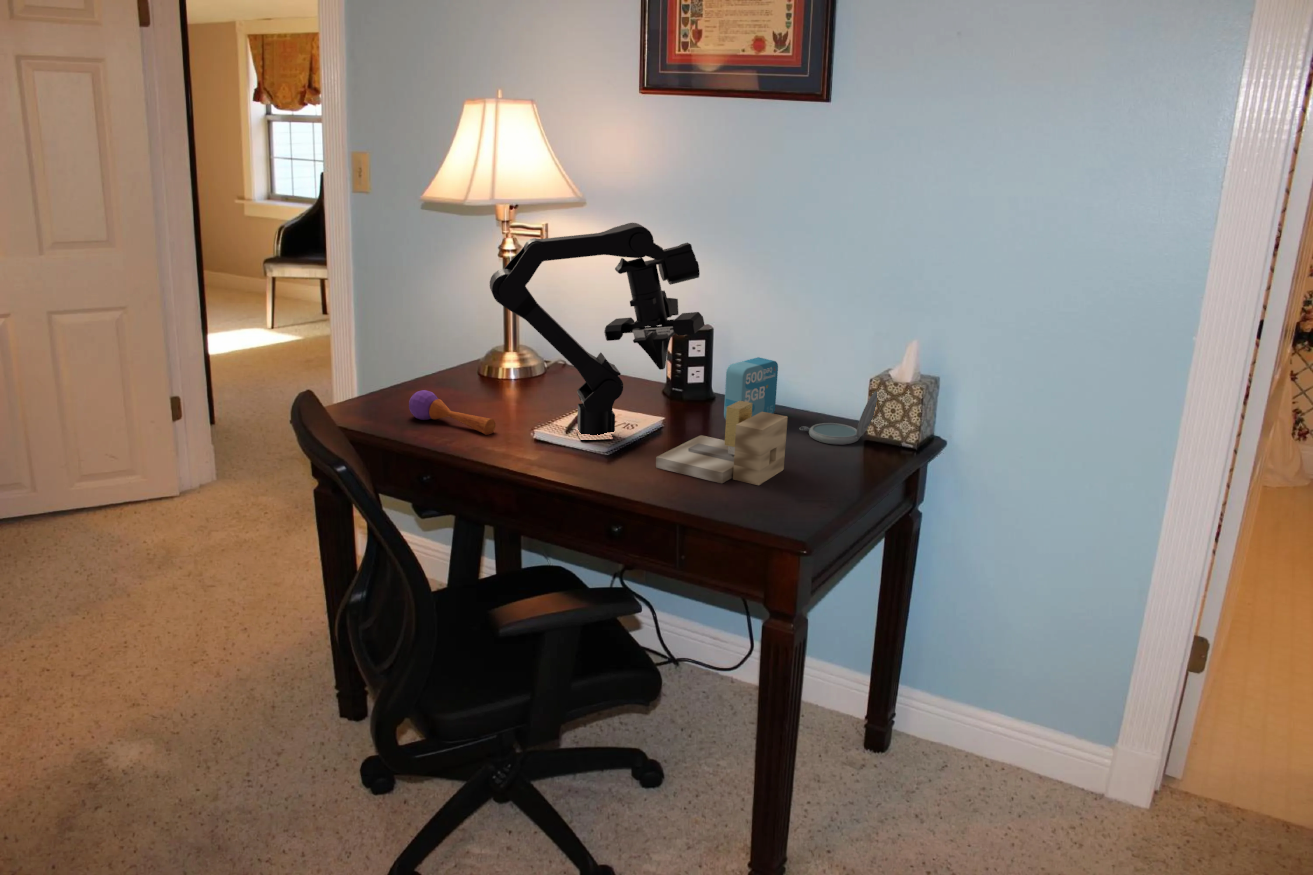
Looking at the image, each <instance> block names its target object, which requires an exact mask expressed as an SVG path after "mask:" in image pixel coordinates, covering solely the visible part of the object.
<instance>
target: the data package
mask: <svg viewBox="0 0 1313 875" xmlns="http://www.w3.org/2000/svg"><path fill="white" fill-rule="evenodd" d="M778 372H779V364H778V362H777V361H776V360H773V359H769V358H768V359H767V358H763V357H760V356H757V357H754V358H749V359H746V360H742V361H737V362H735V363H730V365H728V367H727V369H726V372H725V388H724V389H725V392H724V408H723V417H724V419H725V420H726V410H727V406H730V405H732V404H734V403H736V402H738V401H744V402H749V403H752V416H754V415H756V414H758V413H760V412H767V413H772V414H775V411H776V403H777V402H776V401H777V388H778V375H779V374H778Z"/></svg>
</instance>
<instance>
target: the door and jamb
mask: <svg viewBox="0 0 1313 875" xmlns="http://www.w3.org/2000/svg"><path fill="white" fill-rule="evenodd" d="M788 418H789V417H788V416H787V415H782V414H776V413H773V414H772V413H767V412H760V413H758V414H756V415H754V416H752V417H750V418H748V419H746V420H744V421H742V422H740V423H739V424H737V425H736V436H735V453H734V455H733V454H728V446H727V445H725V439H721V438H720V439H719V438H716V437H710V436H706V435H702V434H700V435H698V436H696V437H694V438H692V439H690V440H688V441H686V442H683V443H682V444H680V445H678V446H676V447H673V448H671V449H670V450H667V451H666V452H664V453H662V454H660V455H657V456H656V457H655V468H656V469H661V470H664V471H669V472H673V473H677V474H681V475H685V476H690V477H694V478H698V479H702V480H706V481H709V482H713V483H714V482H715V483H718V484H723V483H725V482H727V481H729V480H731V479H732V480H735V481H738V482H742V483H747V484H750V485H751V484H752V485H755V486H760V485H762V484H763V483H765V482H766V481H768V480H770V479H771V478H773V477H775V476H776V475H777V474H779V473H781V472H782V471H783V470H784V469H785V459H786V458H785V457H786V456H785V455H786V445H787V444H786V443H787V441H786V440H787V431H788V430H787V428H788Z"/></svg>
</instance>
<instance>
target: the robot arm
mask: <svg viewBox="0 0 1313 875" xmlns="http://www.w3.org/2000/svg"><path fill="white" fill-rule="evenodd" d="M654 241H655V240H654V236H653V234H652V232H651V231H650V230H649V229H648V228H646V227H645V226H644V225H641V224H640V223H637V222H628V223H624V224H622V225H621V224H620V225H618V226H614V227H612V228H610V229H607V230H604V231H601V232H595V233H585V234H576V235H565V236H556V237H555V236H554V237H547V238H546V237H545V238H537V237H536V238H535V237H533V238H530V239H528V240H527V241H526V242H525V244H524V246H523V247H522V248H521V249H520V251H518V252H517V253H516V255H514V257H512V258H511V260H509V262H508V263H507V264H506V265H505V267H504V268H502V269H499V270H497V271H495V272H494V273H493V274H492V276H491V277H490V279H489V289H490V292H491V294H492V296H493V298H494V300H495V301H496V302H497V303H498V304H499V305H501V306H502V307H503V308H506V309H507V310H508V311H510V312H511V313H513V314H515V315H517V316H519V318H522V319H524V320H525V321H526V322H528V324H529V325H531V327H533V328H534V329H535V331H537V332H538V333H539V334H540V336H542V337H543V338H544V339H545V340H546V341H547V342H548V343H549V344H550V345H551V346H552V347H553V348H554V349H555V350H556V351H557V352H558V353H559V354H561V356H562V357H563V358H564V359H566V361H567V362H569V363H570V364H571V365H572V366H573V367H574V368H575V370H577V372H578V373H579V374H580V376H581V377H582V379H583V380H584V383H582V385H581V386H580V387H578V389H577V390H576V393H577V395H578V398H579V400H580V401H581V403H578V404H577V429H578V430H579V432H580V433H581V434H590V435H597V434H598V435H600V434H604V433H607V432H614V431H616V414H615V412H614V411H613V407H614V404H615V402H616V400H617V399H620V397H621V395H622V393H623V392H624V383H623V380H622V379H621V377H620V376H621V374H622V373H621V372H620V370H619V369H618V368H617V367H616V366H615V364H613V363H611V362H610V361H608V360H607V358H606V357H605V356H604V354H603V353H602V352H599V353H598V355H597V357H596V356H595V355H593V354H591V353H589V351H587V350H586V349H585V348H584V347H583V346H582V345H581V344H580V343H579V342H578V341H577V340H576V339H575V338H574V337H573V336H572V335H570V333H569V332H567V330H565V328H563V327H562V325H561V324H559V322H557V321H556V320H555V319H554V318H553V317H552V316H551V315H550V314H549V313H548V312H547V311H546V310H545V309H544V308H543V307H542V306H541V305H540V304H539V303H538V302H537V301H536V299H535V297H534V296H533V294H532V292H530V290H529V288H527V287H526V286H527V284H528V283H529V282H530V280H532V277H533V276H534V274H535V273H536V272H537V270H538V268H540V267H539V266H541V264H542V263H543V262H547V261H559V260H567V259H569V260H570V259H577V258H584V257H585V258H586V257H596V256H612V257H618V258H619V257H620V259H619V262H618V264H617V265H616V267H614V270H615V271H616V272H617V273H618V274H619V275H622V274H626V275H627V280H628V284H629V289H630V293H631V294H630V295H631V300H629V305H630V307H633V309H634V313H635V317H636V320H634V319H633V318H632V317H620V318H615V319H614V320H612V321H611V322H609V323H608V324H607V325H606V326H605V327H604V332H603V333H604V336H605V340H606V341H608V342H610V341H620V340H621V339H622V337H623V336H624V334H631V333H632V335H633V337H634V339H632V342H633V343H634V344H638V346H639V347H640V348H641V349H642V350H643V351H644V352H645V353H646V354H647V356H649V358H650V359H651V360H652V362H653V363H654V364H655V365H656V367H657V368H658V369H659V370H665V369H666V364H667V356H668V351H669V345H670V341H671V339H672V337H674V336H675V335H676V336H678V337H679V336H681V337H682V336H690V335H695V334H696V333H697V332H698V331H700V330H701V329H702V328H703V327H704V326H705V324H706V323H705V319H704V317H703V316H704V315H702V314H701V313H700V312H699V311H694V312H693V311H692V312H682V313H681V314H679V299H678V298H676V297H675V298H674V297H668V296H667V293H666V291H665V290H662V285H661V281H660V278H661V280H662V281H663V282H667V283H668V285H669V286H670V285H675V284H678V283H683V282H686V281H690V280H695V279H699V278H700V265H699V262H698V261H697V258H696V254H695V252H694V250H693V247H692V244H691V243H689V242H685V243H682V244H680V245H677V246H672V247H668V248H664V249H663V247H662V246H660V245H658V244H656V243H655V242H654ZM646 257H648V258H650V260H644V258H646ZM625 258H631V259H629V260H626V259H625ZM658 270H659V271H658ZM673 316H677V317H676V318H674V319H669V318H672V317H673Z"/></svg>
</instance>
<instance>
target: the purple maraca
mask: <svg viewBox="0 0 1313 875" xmlns="http://www.w3.org/2000/svg"><path fill="white" fill-rule="evenodd" d="M408 409H409V411H410V413H411V414H412V415H413V417H414V418H416V419H418V420H421V421H428V420H439V419H444V418H448V417H449V418H452V419H453V420H455V421H457V422H460V423H462V424H464V425H465V426H467V427H469V428H472V429H473V430H475V431H477V432H479V433H482V434H483V435H484V436H488V435H490V434H493V433H494V432H495V429H496V421H495V419H493V418H488V417H485V416H484V417H483V416H479V415H478V416H477V415H474V414H473V415H472V414H467V413H463V412H458V411H453V410H451V409H450V408H449V407H448V406H447V405H446V403H445V402H443V400H442V399H439V398H438V397H437V395H436V393H434V392H433V391H429V390H426V389H424V390H423V389H422V390H419V391H416V392H415V393H413V394H412V396H411V397H410V398H409V401H408Z"/></svg>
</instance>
